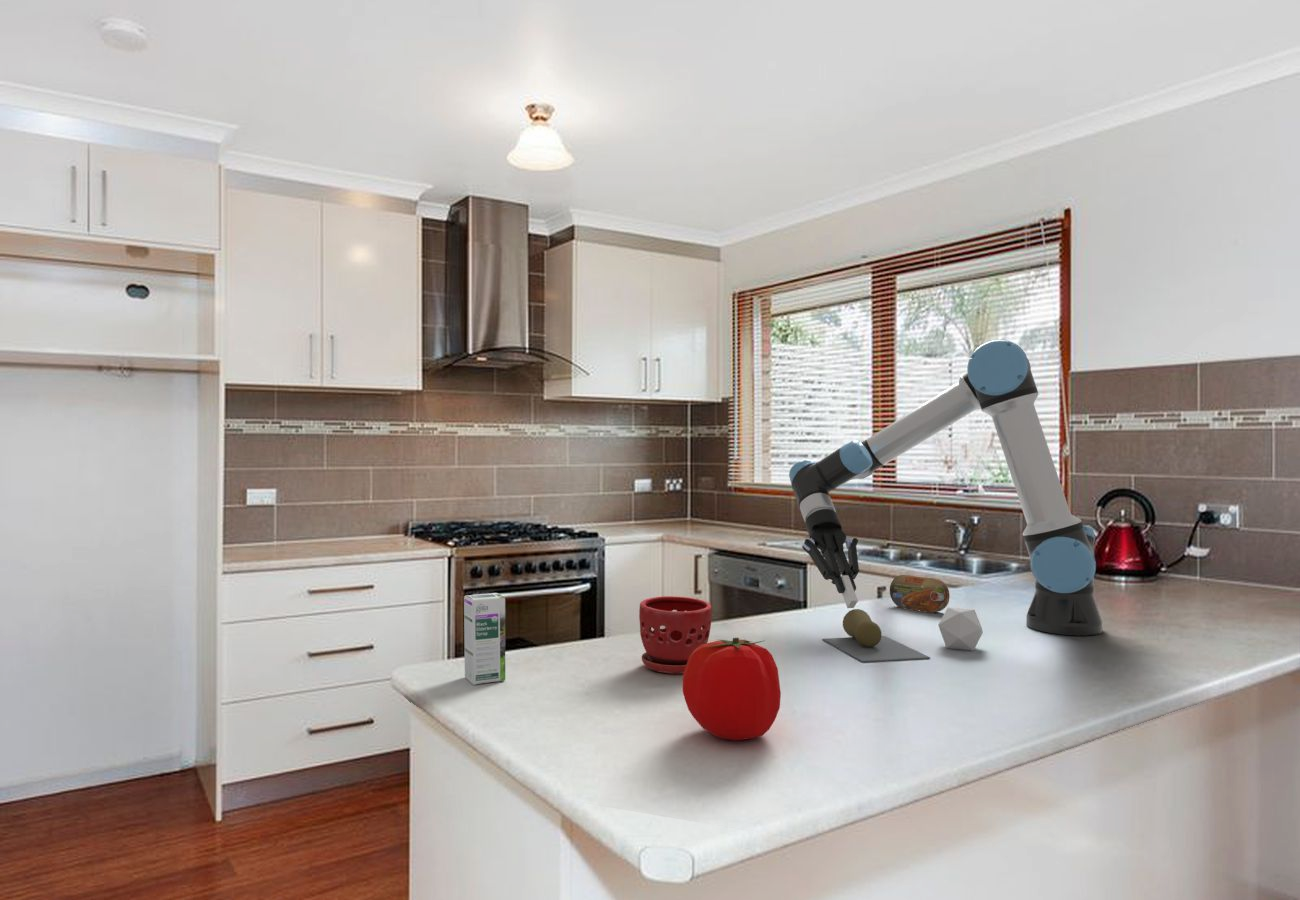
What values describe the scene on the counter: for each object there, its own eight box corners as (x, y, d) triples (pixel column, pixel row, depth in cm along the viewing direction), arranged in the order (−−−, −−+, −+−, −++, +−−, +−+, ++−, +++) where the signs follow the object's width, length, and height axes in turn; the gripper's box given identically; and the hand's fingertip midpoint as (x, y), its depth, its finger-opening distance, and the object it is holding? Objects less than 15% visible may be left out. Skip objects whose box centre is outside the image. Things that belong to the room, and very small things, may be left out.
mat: (822, 640, 175) (822, 638, 175) (884, 637, 178) (884, 635, 178) (862, 662, 157) (862, 660, 157) (930, 658, 160) (930, 657, 160)
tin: (888, 606, 211) (889, 572, 211) (895, 604, 214) (895, 571, 213) (944, 615, 200) (945, 580, 200) (951, 613, 203) (951, 579, 202)
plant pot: (628, 673, 149) (628, 606, 149) (653, 656, 161) (653, 593, 161) (699, 681, 145) (699, 611, 144) (719, 662, 157) (719, 598, 157)
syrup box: (472, 685, 141) (473, 599, 141) (463, 676, 147) (463, 593, 146) (505, 681, 144) (506, 596, 144) (495, 672, 149) (495, 591, 149)
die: (986, 648, 171) (960, 606, 175) (997, 636, 163) (971, 592, 168) (950, 664, 170) (925, 621, 175) (960, 652, 162) (934, 608, 167)
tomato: (779, 756, 110) (780, 652, 110) (675, 749, 113) (675, 647, 113) (781, 718, 126) (782, 626, 126) (690, 712, 128) (690, 622, 128)
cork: (874, 634, 177) (888, 647, 166) (846, 640, 177) (858, 654, 166) (867, 606, 177) (882, 617, 166) (839, 612, 177) (852, 624, 166)
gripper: (841, 527, 197) (875, 613, 181) (789, 528, 194) (818, 615, 178) (852, 506, 192) (887, 593, 176) (798, 507, 189) (829, 595, 173)
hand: (852, 604), depth 177 cm, fingers closed
